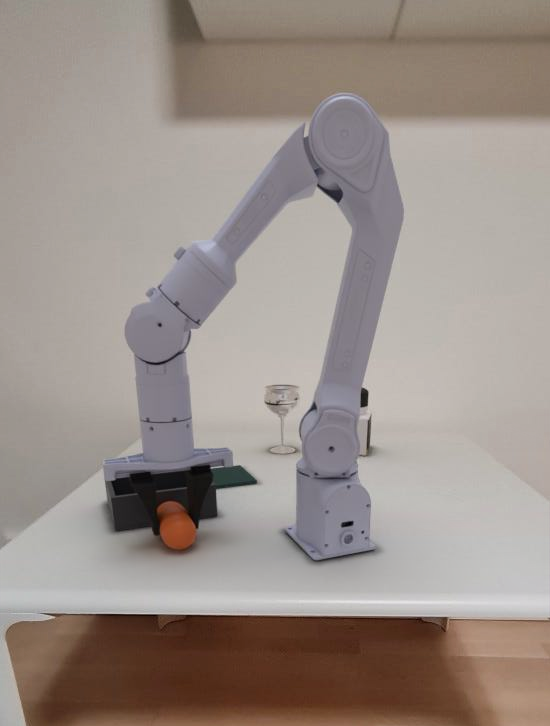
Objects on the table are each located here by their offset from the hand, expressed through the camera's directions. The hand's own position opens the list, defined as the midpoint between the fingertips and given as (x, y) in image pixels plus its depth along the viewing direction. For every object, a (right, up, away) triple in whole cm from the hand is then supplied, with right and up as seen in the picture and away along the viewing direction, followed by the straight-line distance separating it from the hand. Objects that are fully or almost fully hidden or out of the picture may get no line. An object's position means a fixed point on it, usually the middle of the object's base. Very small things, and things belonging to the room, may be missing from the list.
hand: (175, 529), depth 66 cm
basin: (-4, +2, +10) cm, 11 cm away
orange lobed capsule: (0, -1, +1) cm, 1 cm away
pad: (+2, +7, +23) cm, 24 cm away
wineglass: (+12, +13, +39) cm, 43 cm away
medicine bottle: (+25, +13, +39) cm, 48 cm away
